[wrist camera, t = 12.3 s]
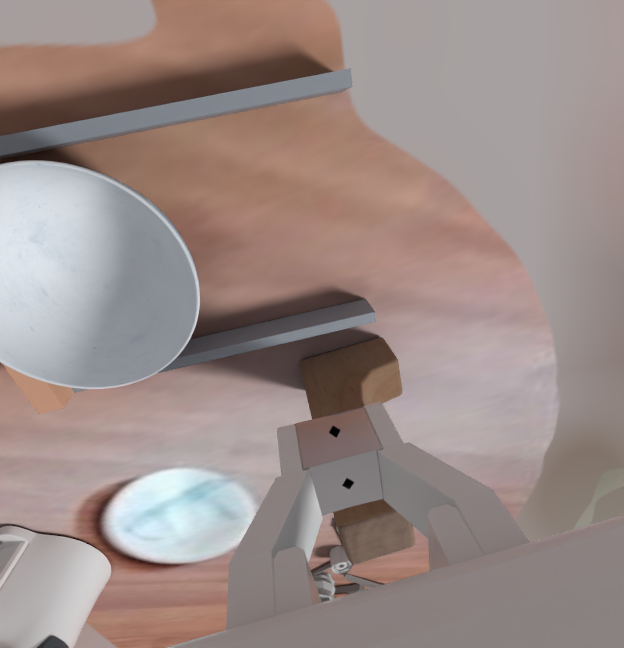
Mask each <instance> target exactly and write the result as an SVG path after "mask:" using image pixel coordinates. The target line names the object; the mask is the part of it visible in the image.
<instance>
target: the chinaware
mask: <svg viewBox="0 0 624 648" xmlns="http://www.w3.org/2000/svg"><path fill="white" fill-rule="evenodd" d="M199 307H200V290H199V282H198V276H197V272H196V268H195V265H194V262H193V259H192V256H191V254H190V252H189V249H188V247H187V245H186V243H185V242H184V240H183V238H182V237H181V235H180V233H179V232H178V230H177V229H176V228H175V226H174V225H173V224H172V223H171V221H170V220H169V219H168V218H167V217H166V216H165V215H164V214H163V212H162V211H161V210H159V209H158V208H157V207H156V206H155V205H154V204H153V203H152V202H150V201H149V200H148V199H147V198H145V197H144V196H143V195H141V194H140V193H138V192H137V191H135V190H134V189H132V188H131V187H129V186H127V185H125V184H124V183H122V182H120V181H118V180H116V179H113V178H111V177H109V176H107V175H104V174H102V173H99V172H96V171H93V170H90V169H87V168H84V167H80V166H76V165H72V164H67V163H61V162H54V161H42V160H27V161H15V162H9V163H4V164H0V362H1V363H2V364H4V365H6V366H8V367H10V368H11V369H13V370H15V371H17V372H20V373H22V374H24V375H27V376H29V377H32V378H34V379H37V380H40V381H44V382H47V383H51V384H55V385H59V386H65V387H71V388H81V389H105V388H114V387H120V386H125V385H129V384H132V383H135V382H138V381H141V380H143V379H146V378H148V377H150V376H152V375H154V374H156V373H157V372H159V371H161V370H162V369H164V368H165V367H166V366H168V365H169V364H170V363H171V362H172V361H173V360H174V359H175V358H176V357H177V356H178V355H179V354H180V353H181V352H182V350H183V349H184V348H185V346H186V345H187V343H188V342H189V340H190V338H191V336H192V334H193V331H194V329H195V326H196V323H197V319H198V314H199Z"/></svg>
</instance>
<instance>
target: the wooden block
mask: <svg viewBox="0 0 624 648" xmlns="http://www.w3.org/2000/svg"><path fill="white" fill-rule="evenodd" d="M300 368H301V372H302V377H303V381H304V386H305V390H306V394H307V399H308V403H309V408H310V412H311V416H312V420H313V419H317V418H321V417H325V416H329V415H333V414H337V413H340V412H344V411H348V410H351V409H355V408H359V407H363V406H366V405H369V404H373V403H377V402H381V403H384V402H386V401H389V400H391V399H393V398H395V397H398V396H400V395H401V394H402V385H401V378H400V371H399V364H398V359H397V358H396V356H395V355H394V353H393V352H392V350H391V349H390V347H389V346H388V344H387V343H386V342H385V340H384V339H383V338H376V339H373V340H369V341H366V342H362V343H359V344H356V345H352V346H349V347H345V348H342V349H338V350H335V351H332V352H328V353H325V354H321V355H318V356H314V357H311V358H308V359H304V360H302V361H300ZM333 513H334V517H335V522H336V526H337V529H338V532H339V535H340V538H341V541H342V543H343V546H344V549H345V552H346V555H347V558H348V560H349V561H350V563H351V564H358V563H361V562H365V561H368V560H371V559H374V558H378V557H381V556H384V555H387V554H391V553H394V552H397V551H400V550H403V549H407V548H410V547H412V546H413V545H414V544H415V537H414V531H413V525H412V524H411V523H410V522H408V521H407V520H406V519H405V518H404V517H403V516H402V515H400V514H399V513H398V512H397V511H396V510H395V509H394V508H392V507H391V506H390V505H389V504H388V503H387V502H386V501H384V499H380V500H376V501H372V502H368V503H364V504H360V505H356V506H352V507H349V508H345V509H342V510H339V511H336V512H333Z"/></svg>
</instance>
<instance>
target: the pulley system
mask: <svg viewBox="0 0 624 648" xmlns="http://www.w3.org/2000/svg"><path fill="white" fill-rule="evenodd" d="M335 524H336V523H335ZM336 530H337V531H338V529H337V526H336ZM338 533H339V532H338ZM329 554H330V561H331V563H329V564H327V565H325V566H323V567H321V568H319V569H316V570H314V571H312V572H311V573H312V576H313V579H314V581H315V584H316V587H317V590H318V593H319V596H320V599H321V602H325V601H329V600H332V599H336V597H333V595H334V594H335V593H343V592H347V595H349V594H353V593H356V592H360V591H363V590H365V587H364V586H367V587H370V588H374V587H377V586H381V585H380V584H377V583H374V582H371V581H368V580H365V579H361V578H358V577H355V576H352V575H349V574H347V573H348V572H349V571H350V569H351V568H352V566H353V565H354V564H351V563H350V561H349V560H348V558H347V555H346V552H345V549H344V546H343V545H340V546H336V547H334V548H332V549H331V550H330V553H329ZM329 568H331V569H332V571H333V573H336V574H342V573H344V578H345V579H346V580H348V581H351V582H354V583H357V584H354V585H348V586H339V587H334V582H335V581H334V580H332V577H331V575H330V573H326V572H322V571H324V570H327V569H329Z"/></svg>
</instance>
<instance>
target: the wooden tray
mask: <svg viewBox="0 0 624 648" xmlns="http://www.w3.org/2000/svg"><path fill="white" fill-rule="evenodd" d="M351 87H352V78H351V70H350V69H345V70H340V71H334V72H329V73H324V74H319V75H314V76H309V77H303V78H298V79H293V80H288V81H283V82H278V83H272V84H267V85H262V86H257V87H252V88H247V89H241V90H236V91H231V92H226V93H221V94H216V95H210V96H205V97H200V98H195V99H190V100H184V101H179V102H174V103H169V104H164V105H159V106H153V107H148V108H143V109H138V110H133V111H128V112H122V113H117V114H112V115H107V116H102V117H97V118H91V119H86V120H81V121H76V122H71V123H66V124H60V125H55V126H50V127H45V128H40V129H34V130H29V131H24V132H19V133H14V134H9V135H3V136H0V159H3V158H8V157H14V156H19V155H24V154H29V153H34V152H39V151H44V150H49V149H54V148H59V147H64V146H69V145H74V144H80V143H85V142H90V141H95V140H100V139H105V138H110V137H115V136H120V135H125V134H130V133H135V132H141V131H146V130H151V129H156V128H161V127H166V126H171V125H176V124H181V123H186V122H191V121H196V120H201V119H207V118H212V117H217V116H222V115H227V114H232V113H237V112H242V111H247V110H252V109H257V108H262V107H268V106H273V105H278V104H283V103H288V102H293V101H298V100H303V99H308V98H313V97H318V96H323V95H328V94H334V93H339V92H343V91H345V90H347V89H349V88H351ZM373 322H376V315H375V311H374V310H373V308H372V307H371V306H370V304H369V303H368V301H367V300H366V299H362V300H358V301H354V302H349V303H345V304H341V305H336V306H332V307H328V308H323V309H319V310H315V311H310V312H306V313H302V314H297V315H293V316H289V317H284V318H280V319H276V320H271V321H267V322H263V323H258V324H254V325H250V326H245V327H241V328H237V329H232V330H228V331H224V332H219V333H215V334H211V335H206V336H202V337H198V338H193V339H190V340H189V342H188V343H187V345H186V346H185V348H184V349H183V350H182V352H181V353H180V354H179V355H178V356H177V357H176V358H175V359H174V360H173V361H172V362H171V363H170V364H169V365H168V366H166V367H165V368H164V369H162V370H161V371H159V372H157V373H160V372H164V371H168V370H173V369H177V368H181V367H185V366H190V365H194V364H198V363H203V362H207V361H211V360H215V359H220V358H224V357H228V356H232V355H237V354H241V353H245V352H249V351H254V350H258V349H262V348H266V347H271V346H275V345H279V344H283V343H288V342H292V341H296V340H300V339H305V338H309V337H313V336H317V335H322V334H326V333H330V332H334V331H339V330H343V329H347V328H351V327H356V326H360V325H364V324H368V323H373ZM3 365H4V364H3ZM4 367H5V368H6V370H7V371H8V372H9V374H10V375H11V377H12V378H13V379H14V381H15V382H16V383H17V385H18V386H19V388H20V389H21V390H22V392H23V393H24V394H25V396H26V397H27V399H28V400H29V401H30V403H31V404H32V405H33V407H34V408H35V410H36V411H37V412H38V414H40V413H45V412H49V411H53V410H57V409H62V408H64V407H65V405H66V404H67V402H68V401H69V400H70V398H71V397H72V395H73V394H74V393H75V392H79V391H83V390H88V389H81V388H71V387H65V386H59V385H55V384H51V383H47V382H44V381H40V380H37V379H34V378H32V377H29V376H27V375H24V374H22V373H20V372H17V371H15V370H13V369H11V368H10V367H8V366H6V365H4Z"/></svg>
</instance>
